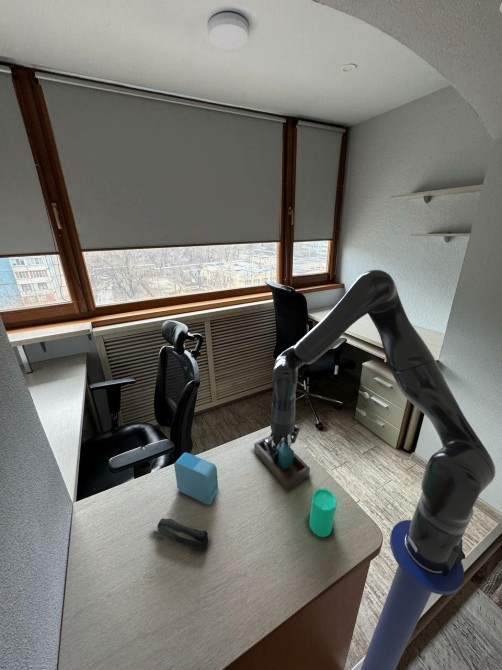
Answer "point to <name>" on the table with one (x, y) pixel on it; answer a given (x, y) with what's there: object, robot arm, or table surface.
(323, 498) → the candle
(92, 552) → the table surface
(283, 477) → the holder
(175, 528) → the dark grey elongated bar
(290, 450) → the block
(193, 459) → the data package
